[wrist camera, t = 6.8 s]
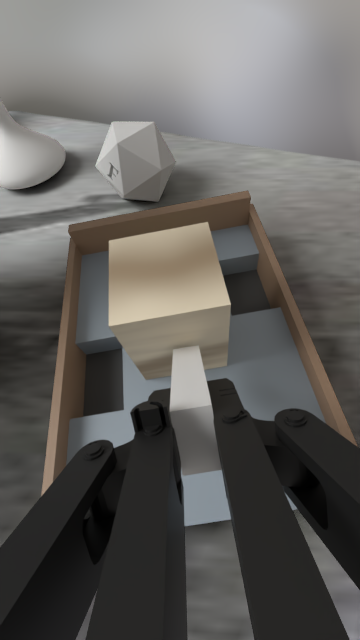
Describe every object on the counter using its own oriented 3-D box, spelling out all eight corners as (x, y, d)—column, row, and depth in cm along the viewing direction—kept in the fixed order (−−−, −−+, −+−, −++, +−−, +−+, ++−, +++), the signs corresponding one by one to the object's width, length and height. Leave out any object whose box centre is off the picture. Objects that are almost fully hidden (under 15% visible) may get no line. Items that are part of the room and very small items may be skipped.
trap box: (349, 497, 17) (396, 500, 13) (69, 539, 18) (17, 558, 13) (248, 235, 30) (254, 189, 25) (86, 266, 31) (62, 226, 26)
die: (112, 185, 39) (67, 152, 30) (152, 132, 37) (117, 80, 28) (150, 224, 38) (116, 203, 29) (194, 173, 36) (172, 133, 27)
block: (226, 366, 20) (230, 304, 13) (145, 379, 20) (108, 326, 14) (211, 299, 23) (207, 221, 16) (140, 312, 23) (108, 240, 17)
